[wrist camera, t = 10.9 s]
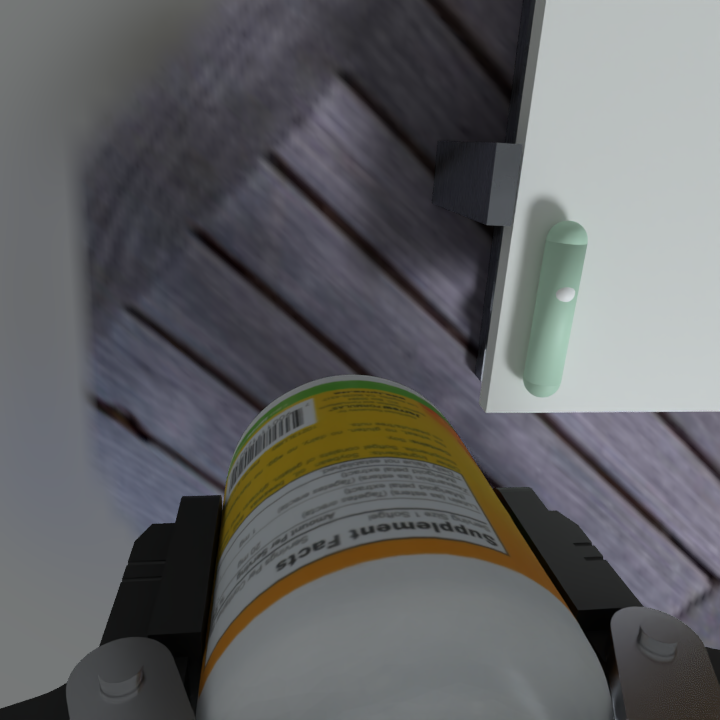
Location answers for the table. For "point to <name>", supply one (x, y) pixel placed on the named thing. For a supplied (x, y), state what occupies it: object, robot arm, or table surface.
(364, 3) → the table surface
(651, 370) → the levelling plate
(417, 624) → the supplement bottle
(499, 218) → the base
